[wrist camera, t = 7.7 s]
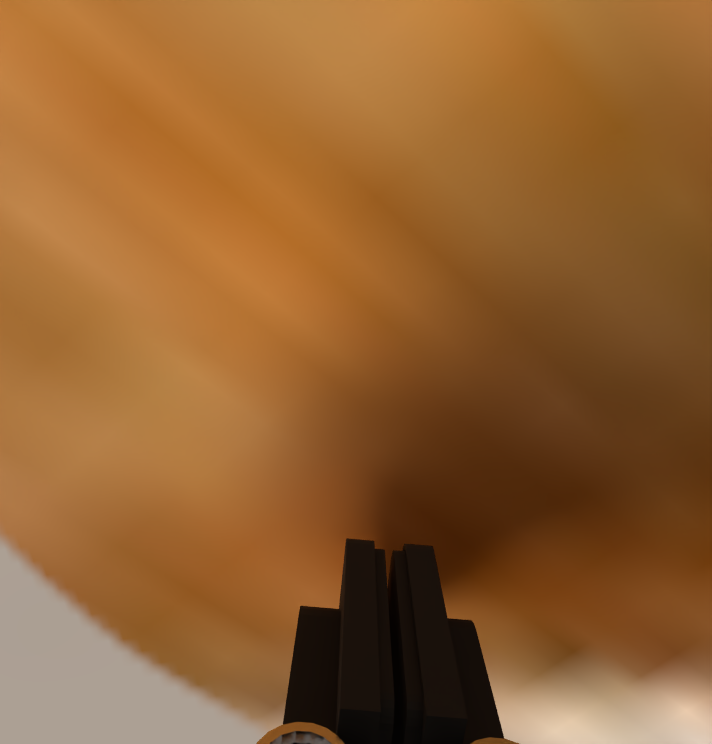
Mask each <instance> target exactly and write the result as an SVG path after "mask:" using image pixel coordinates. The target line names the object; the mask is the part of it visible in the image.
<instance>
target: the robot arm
mask: <svg viewBox="0 0 712 744" xmlns="http://www.w3.org/2000/svg"><path fill="white" fill-rule="evenodd" d="M257 744H519V743H516V742H513V741H510V740H507V739H504V736H503V732H502V728H501V724H500V720H499V717H498V713H497V709H496V705H495V701H494V697H493V693H492V690H491V686H490V682H489V678H488V674H487V670H486V666H485V663H484V659H483V655H482V651H481V647H480V643H479V639H478V636H477V632H476V628H475V625H474V623H473V622H472V621H471V620H461V619H449V618H447V614H446V609H445V604H444V599H443V594H442V589H441V584H440V579H439V574H438V569H437V564H436V559H435V554H434V549H433V547H432V546H426V545H414V544H404V546H403V550H402V551H395V550H393V552H392V557H391V565H390V573H389V580H388V588H387V576H386V561H385V550H384V549H375V545H374V541H369V540H357V539H346V546H345V555H344V565H343V575H342V585H341V594H340V604H339V609H331V608H319V607H308V606H300V611H299V617H298V624H297V631H296V638H295V645H294V652H293V659H292V666H291V672H290V679H289V686H288V693H287V700H286V707H285V714H284V721H283V725H281V726H279V727H277V728H275V729H273V730H271V731H269V732H268V733H267V734H266V735H264V736H263V737H262V738H261V739H260V740H259V741H258V742H257Z"/></svg>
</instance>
